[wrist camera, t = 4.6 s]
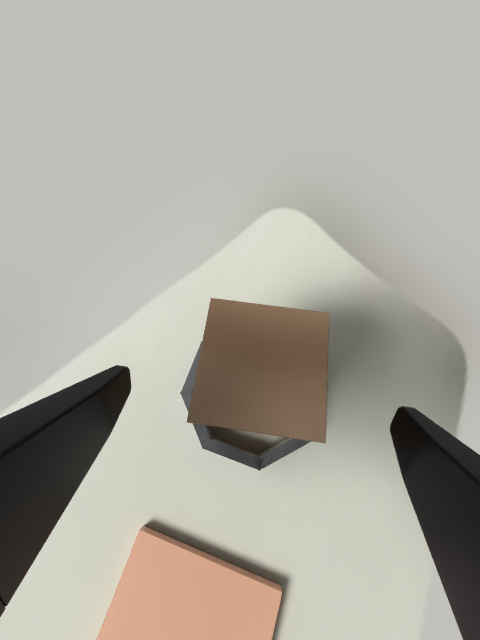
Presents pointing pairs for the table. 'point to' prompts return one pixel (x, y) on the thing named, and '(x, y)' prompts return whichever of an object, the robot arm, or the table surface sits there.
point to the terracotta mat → (188, 596)
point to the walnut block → (263, 370)
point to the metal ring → (228, 449)
